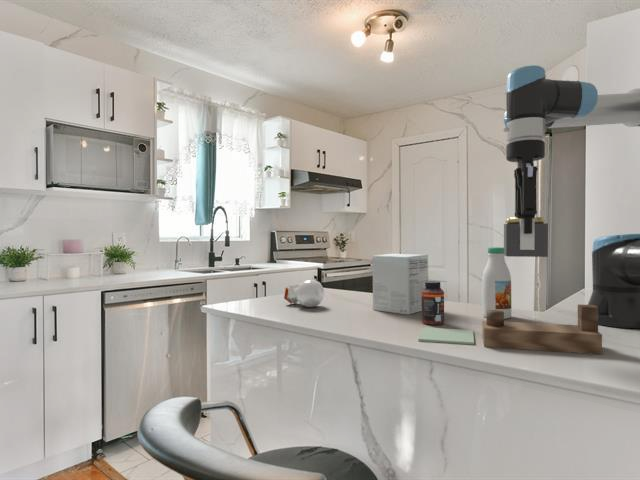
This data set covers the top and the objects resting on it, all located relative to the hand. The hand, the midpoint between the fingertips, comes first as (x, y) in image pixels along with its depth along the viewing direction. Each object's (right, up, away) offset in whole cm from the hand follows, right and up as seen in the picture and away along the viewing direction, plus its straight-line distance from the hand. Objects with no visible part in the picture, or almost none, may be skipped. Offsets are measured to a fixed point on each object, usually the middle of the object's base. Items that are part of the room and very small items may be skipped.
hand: (524, 248), depth 93 cm
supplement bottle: (-14, -21, +23) cm, 34 cm away
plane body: (+3, -21, 0) cm, 21 cm away
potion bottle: (-50, -21, +52) cm, 75 cm away
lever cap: (0, -2, 0) cm, 2 cm away
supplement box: (-19, -20, +43) cm, 52 cm away
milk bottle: (+6, -20, +30) cm, 37 cm away
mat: (-15, -21, +8) cm, 27 cm away
